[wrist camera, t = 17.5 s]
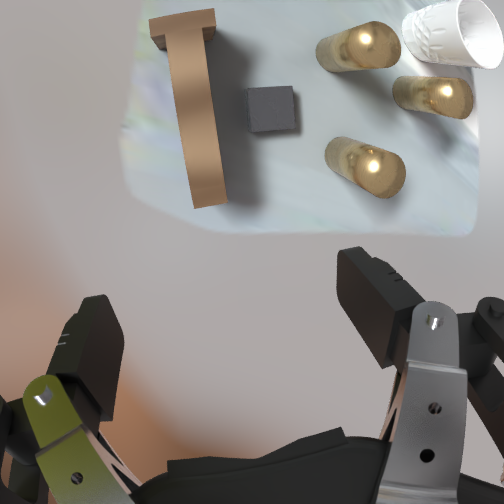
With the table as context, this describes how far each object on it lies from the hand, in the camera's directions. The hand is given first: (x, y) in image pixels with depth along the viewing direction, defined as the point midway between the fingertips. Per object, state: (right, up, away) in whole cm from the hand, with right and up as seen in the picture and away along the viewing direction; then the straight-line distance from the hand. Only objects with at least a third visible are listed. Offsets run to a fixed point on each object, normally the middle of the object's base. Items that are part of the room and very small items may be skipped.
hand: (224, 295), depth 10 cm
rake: (-4, +15, +17) cm, 23 cm away
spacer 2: (+10, +12, +21) cm, 26 cm away
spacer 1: (+9, +21, +16) cm, 28 cm away
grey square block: (+2, +15, +18) cm, 24 cm away
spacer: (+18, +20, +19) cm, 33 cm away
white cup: (+21, +27, +16) cm, 38 cm away
